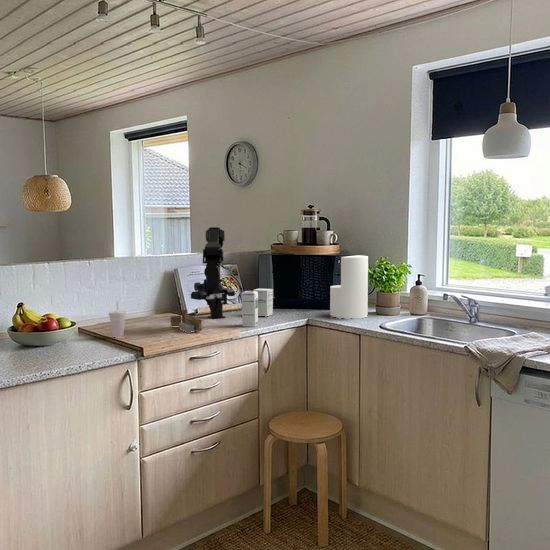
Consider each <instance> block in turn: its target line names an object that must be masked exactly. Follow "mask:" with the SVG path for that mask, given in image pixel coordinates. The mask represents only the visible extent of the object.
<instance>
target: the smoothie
mask: <svg viewBox="0 0 550 550" xmlns="http://www.w3.org/2000/svg"><path fill="white" fill-rule="evenodd" d="M126 315H127V311H124V310H119V300H116V310H113V311H112V310H111V311H109V312H108V316H109V321H110V327H111V333H112V335H111V336H112V338H113V337H121V336H123V337H124V333H125V332H124V331H125V324H126V323H125V322H126Z"/></svg>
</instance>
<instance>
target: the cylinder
mask: <svg viewBox="0 0 550 550" xmlns="http://www.w3.org/2000/svg"><path fill="white" fill-rule="evenodd" d="M368 287H369V256H367V255H349V256H348V255H347V256H340V284H337V285H330V289H329V290H330V291H329V295H330V297H329V302H330V303H329V310H330V311H329V316H330V315H332V316H335V317H342V318H364V317H367V318H368V316H367V315H368V311H369V310H368V304H369V300H368V298H369V297H368V296H369V291H368V289H369V288H368ZM364 319H365V318H364Z"/></svg>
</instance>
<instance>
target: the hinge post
mask: <svg viewBox="0 0 550 550" xmlns="http://www.w3.org/2000/svg"><path fill="white" fill-rule="evenodd" d="M181 313H182V314H181V315H180V314H179V315H170V327H171V326H179V323H181V322H185V315H188V309H182V310H181Z"/></svg>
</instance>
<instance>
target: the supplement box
mask: <svg viewBox="0 0 550 550" xmlns="http://www.w3.org/2000/svg"><path fill="white" fill-rule="evenodd" d="M252 291H258V316H265V317H264V318H268V317H267V316H269V315H272V314H273V313H274V310H273V308H274V306H273V305H274V289H273V288H256V289H253V290H252ZM272 316H273V315H272ZM269 317H270V316H269Z"/></svg>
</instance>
